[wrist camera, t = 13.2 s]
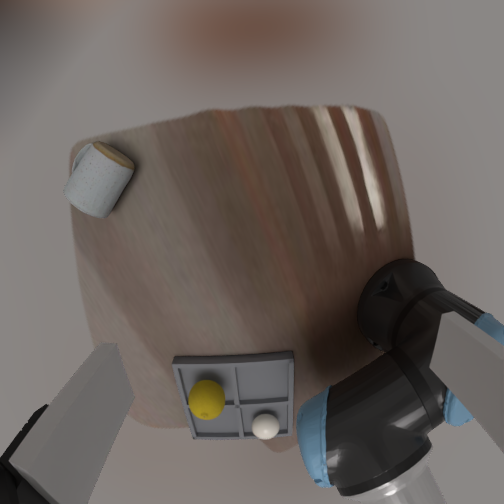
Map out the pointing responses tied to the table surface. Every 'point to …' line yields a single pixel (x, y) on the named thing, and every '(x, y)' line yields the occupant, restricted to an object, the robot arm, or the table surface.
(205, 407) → the lemon
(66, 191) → the ceramic mug
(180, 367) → the compartment tray
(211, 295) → the table surface
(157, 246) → the table surface
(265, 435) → the cream egg
